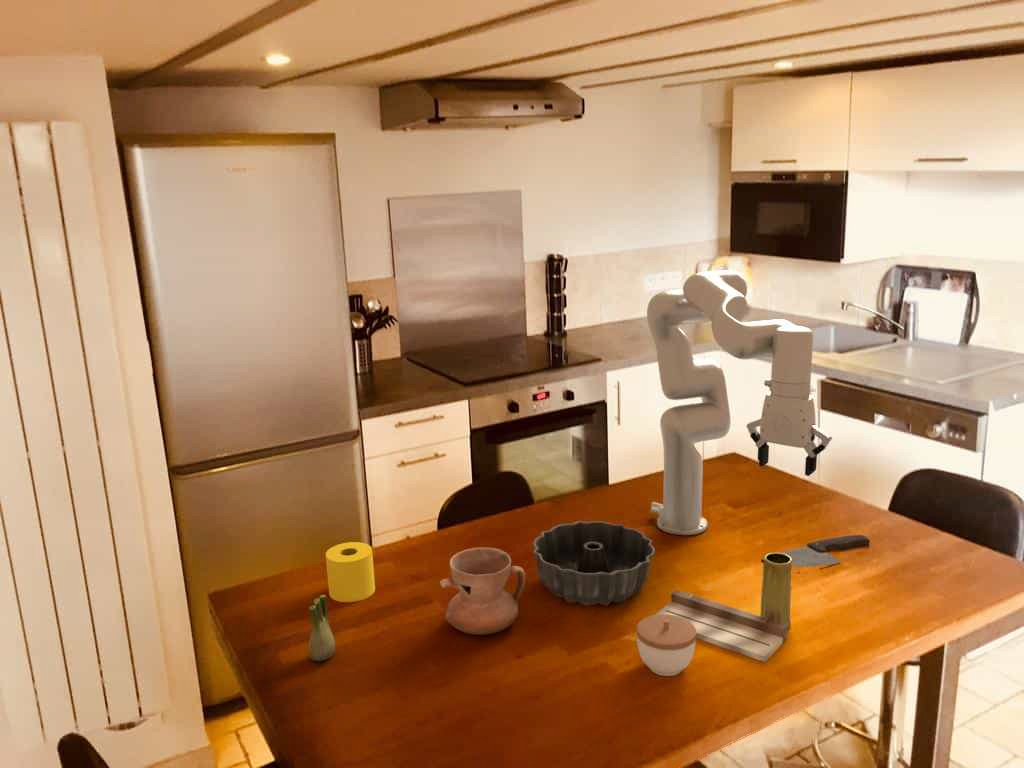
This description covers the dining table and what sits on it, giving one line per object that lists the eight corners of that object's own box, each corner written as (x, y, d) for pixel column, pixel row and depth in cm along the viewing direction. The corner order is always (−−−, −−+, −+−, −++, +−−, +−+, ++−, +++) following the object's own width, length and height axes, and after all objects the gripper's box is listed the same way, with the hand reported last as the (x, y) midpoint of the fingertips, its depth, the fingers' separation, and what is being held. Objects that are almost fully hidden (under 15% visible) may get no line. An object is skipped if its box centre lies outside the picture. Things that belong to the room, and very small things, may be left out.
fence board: (651, 622, 174) (651, 608, 173) (675, 602, 181) (676, 588, 180) (765, 662, 159) (765, 646, 158) (786, 638, 166) (787, 623, 166)
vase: (791, 618, 174) (794, 553, 170) (790, 633, 168) (793, 566, 165) (759, 614, 176) (762, 549, 172) (757, 629, 170) (760, 563, 167)
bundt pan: (680, 593, 185) (680, 551, 183) (580, 630, 172) (580, 585, 169) (604, 550, 207) (604, 511, 204) (511, 580, 194) (510, 539, 191)
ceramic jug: (452, 650, 166) (448, 583, 163) (433, 615, 179) (430, 552, 176) (539, 632, 172) (537, 566, 168) (515, 599, 185) (513, 537, 181)
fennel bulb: (326, 646, 169) (321, 590, 166) (343, 654, 166) (338, 598, 163) (302, 659, 164) (296, 602, 161) (319, 668, 161) (313, 610, 158)
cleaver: (854, 537, 210) (854, 529, 209) (885, 553, 201) (886, 545, 201) (755, 563, 199) (756, 554, 199) (784, 581, 190) (784, 572, 190)
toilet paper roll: (384, 589, 191) (381, 550, 189) (348, 606, 184) (344, 566, 181) (356, 576, 198) (353, 538, 195) (320, 592, 190) (316, 553, 188)
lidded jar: (682, 690, 151) (683, 642, 149) (626, 673, 157) (626, 626, 155) (703, 660, 160) (705, 614, 158) (650, 645, 166) (650, 601, 163)
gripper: (741, 386, 174) (738, 466, 179) (826, 398, 164) (821, 483, 168) (757, 378, 180) (753, 456, 184) (840, 390, 169) (835, 472, 174)
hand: (786, 469), depth 176 cm, fingers open, 9 cm apart
